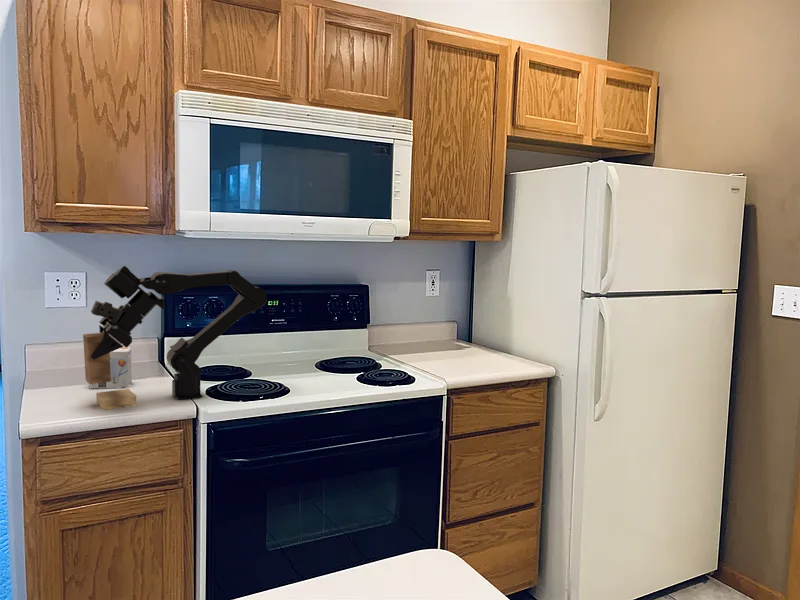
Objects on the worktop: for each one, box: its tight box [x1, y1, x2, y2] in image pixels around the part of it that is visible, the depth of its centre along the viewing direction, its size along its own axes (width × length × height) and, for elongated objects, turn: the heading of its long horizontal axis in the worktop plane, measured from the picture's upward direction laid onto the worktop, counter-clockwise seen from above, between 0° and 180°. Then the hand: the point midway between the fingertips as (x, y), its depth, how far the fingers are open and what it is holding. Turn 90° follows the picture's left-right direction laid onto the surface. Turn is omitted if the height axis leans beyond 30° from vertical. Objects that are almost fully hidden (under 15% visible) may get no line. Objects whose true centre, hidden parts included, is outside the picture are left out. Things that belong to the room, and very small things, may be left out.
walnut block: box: [82, 332, 111, 385], centre depth 164 cm, size 5×5×12 cm
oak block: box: [95, 388, 137, 411], centre depth 167 cm, size 8×8×3 cm
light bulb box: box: [88, 346, 133, 390], centre depth 185 cm, size 11×7×11 cm, turn 105°
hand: (91, 356), depth 163 cm, fingers closed on walnut block, 5 cm apart
